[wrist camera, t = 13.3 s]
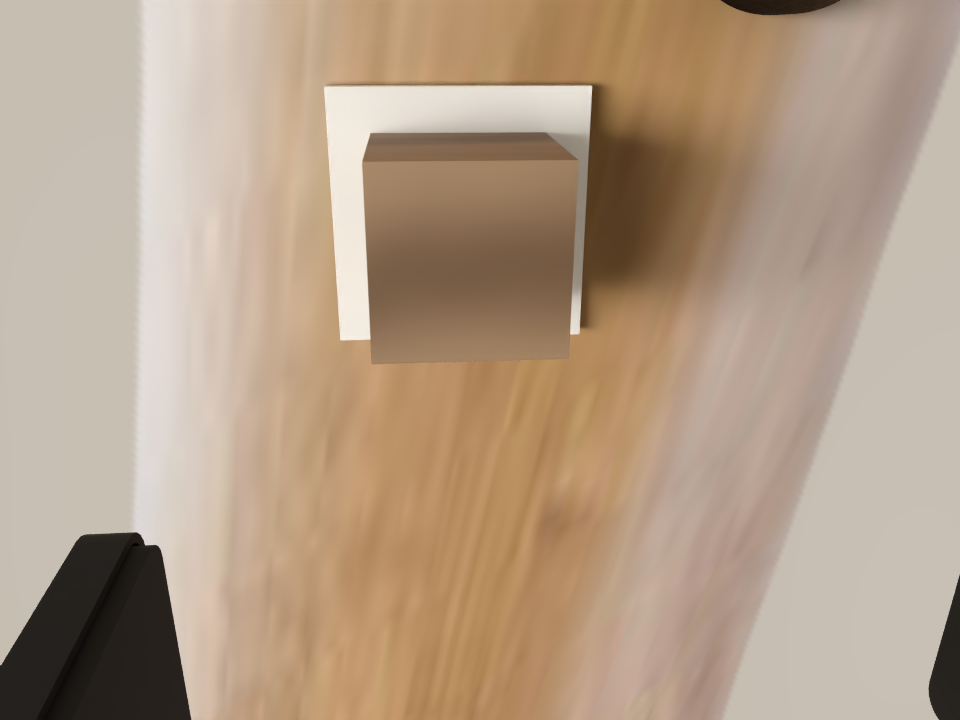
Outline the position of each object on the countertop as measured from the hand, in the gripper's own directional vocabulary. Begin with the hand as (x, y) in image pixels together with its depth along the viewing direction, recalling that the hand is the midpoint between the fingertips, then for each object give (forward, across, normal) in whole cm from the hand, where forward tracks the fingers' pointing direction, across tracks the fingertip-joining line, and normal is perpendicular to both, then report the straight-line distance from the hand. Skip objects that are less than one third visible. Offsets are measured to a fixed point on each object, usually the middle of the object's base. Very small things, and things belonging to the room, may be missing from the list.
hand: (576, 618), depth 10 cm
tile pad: (+22, 0, +1) cm, 22 cm away
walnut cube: (+22, 0, +1) cm, 22 cm away
